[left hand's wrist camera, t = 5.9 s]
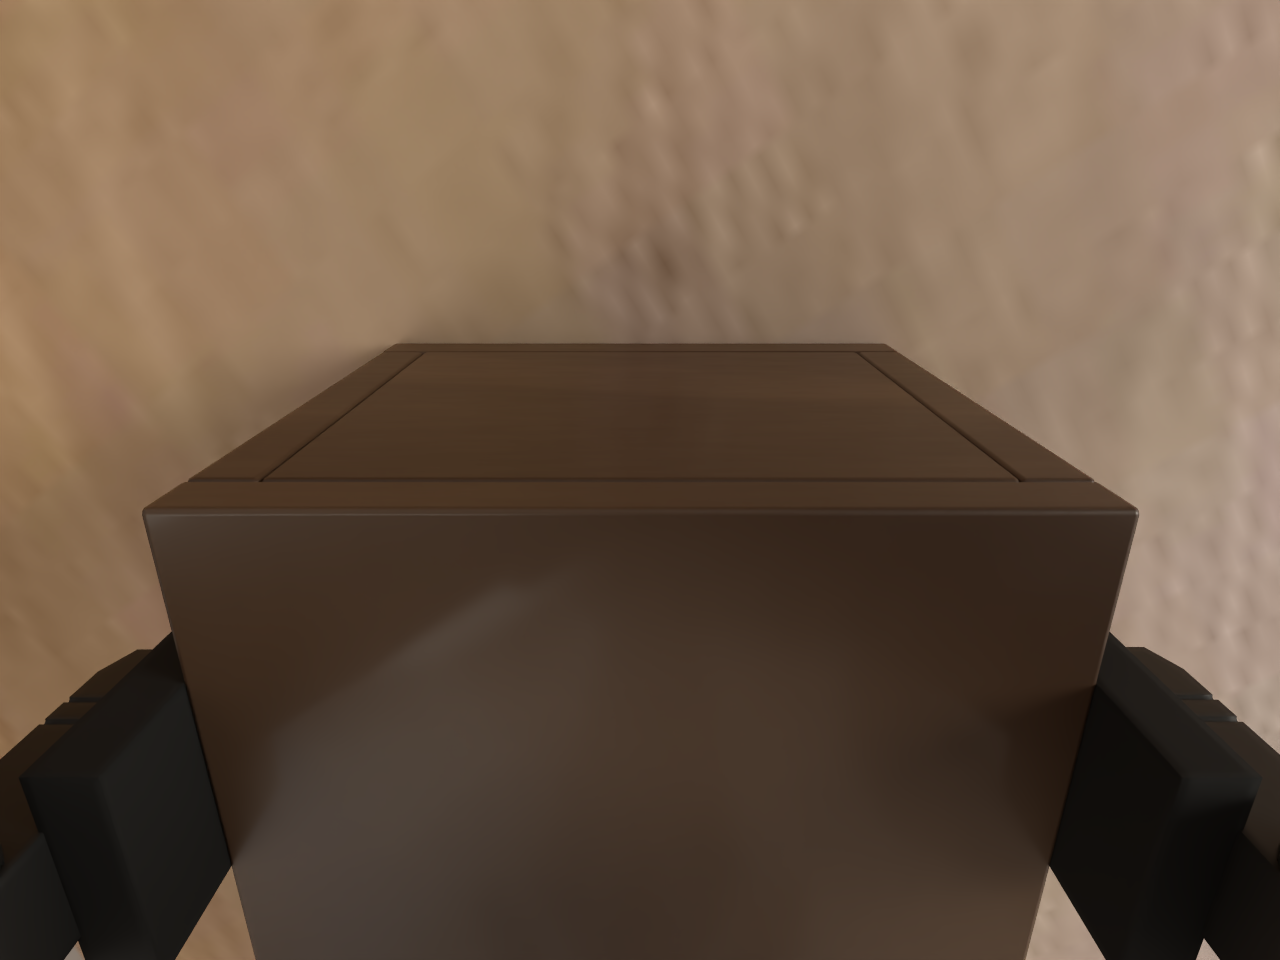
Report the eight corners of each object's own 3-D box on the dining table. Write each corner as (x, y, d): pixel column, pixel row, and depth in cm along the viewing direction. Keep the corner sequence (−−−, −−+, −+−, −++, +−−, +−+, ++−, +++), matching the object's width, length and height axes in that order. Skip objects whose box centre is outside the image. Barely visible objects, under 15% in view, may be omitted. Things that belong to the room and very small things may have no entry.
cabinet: (816, 939, 22) (919, 1378, 14) (463, 939, 22) (360, 1377, 14) (886, 343, 16) (1144, 508, 8) (394, 343, 16) (137, 509, 8)
